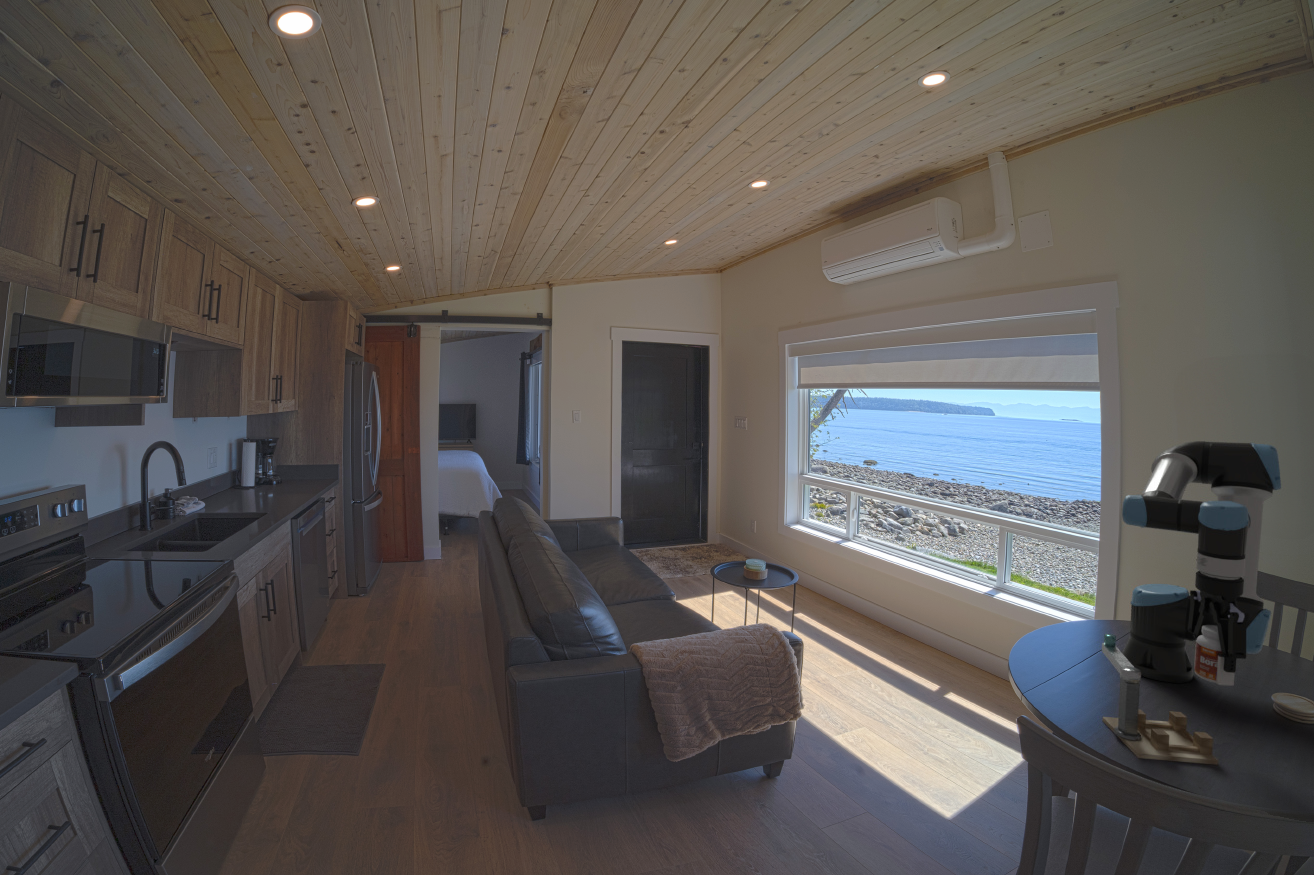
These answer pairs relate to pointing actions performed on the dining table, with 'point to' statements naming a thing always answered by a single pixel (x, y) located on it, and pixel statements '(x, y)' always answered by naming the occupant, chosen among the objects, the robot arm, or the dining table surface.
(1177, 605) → the robot arm
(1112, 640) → the keeper bar
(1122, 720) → the post
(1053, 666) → the dining table surface
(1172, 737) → the socket board
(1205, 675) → the pill bottle
